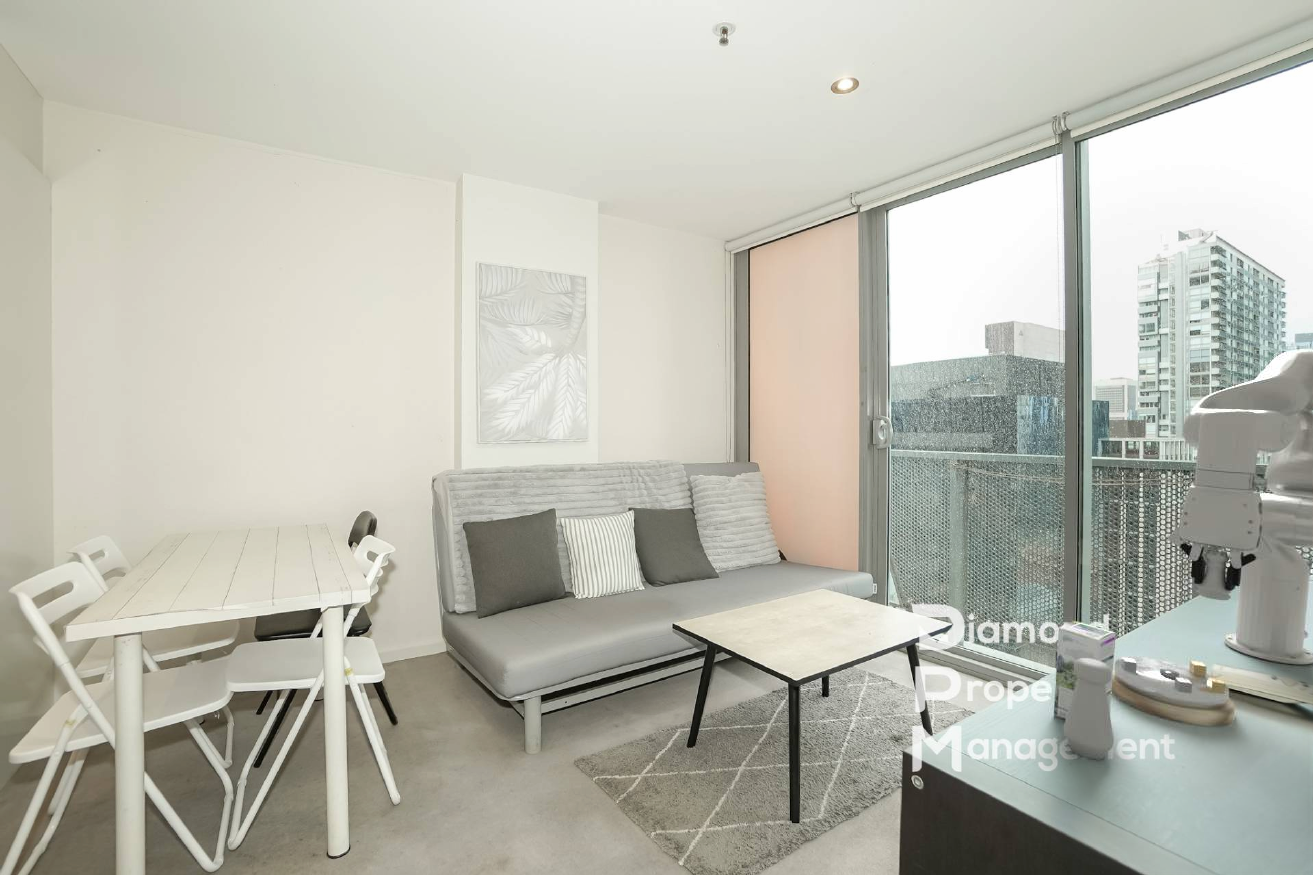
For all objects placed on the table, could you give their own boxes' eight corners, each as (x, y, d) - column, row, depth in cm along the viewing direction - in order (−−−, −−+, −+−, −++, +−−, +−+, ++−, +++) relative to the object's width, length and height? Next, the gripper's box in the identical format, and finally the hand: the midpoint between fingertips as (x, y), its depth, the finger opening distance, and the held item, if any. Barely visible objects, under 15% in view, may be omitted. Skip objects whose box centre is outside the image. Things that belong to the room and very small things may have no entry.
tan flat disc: (1143, 671, 111) (1144, 660, 111) (1256, 715, 96) (1257, 702, 96) (1085, 686, 105) (1086, 674, 105) (1196, 734, 90) (1197, 721, 90)
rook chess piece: (1216, 593, 108) (1220, 549, 107) (1238, 601, 103) (1242, 555, 103) (1189, 592, 108) (1193, 547, 107) (1210, 600, 103) (1214, 553, 103)
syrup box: (1111, 723, 93) (1117, 631, 92) (1093, 733, 90) (1099, 638, 89) (1069, 706, 98) (1075, 619, 97) (1051, 716, 95) (1057, 626, 94)
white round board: (1146, 662, 110) (1148, 643, 109) (1248, 700, 96) (1250, 678, 96) (1094, 675, 104) (1095, 655, 104) (1194, 716, 91) (1196, 693, 91)
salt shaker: (1121, 766, 82) (1128, 673, 81) (1074, 760, 83) (1080, 669, 82) (1099, 742, 88) (1105, 655, 87) (1055, 737, 89) (1060, 651, 88)
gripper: (1297, 486, 100) (1286, 596, 101) (1169, 474, 113) (1161, 571, 114) (1288, 489, 95) (1277, 603, 97) (1156, 476, 109) (1148, 577, 110)
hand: (1214, 585), depth 105 cm, fingers closed on rook chess piece, 3 cm apart
